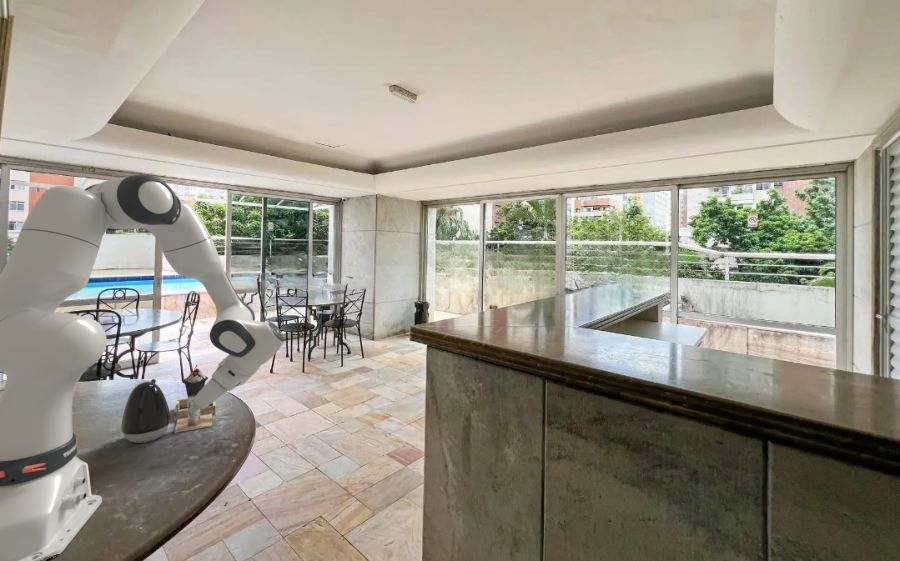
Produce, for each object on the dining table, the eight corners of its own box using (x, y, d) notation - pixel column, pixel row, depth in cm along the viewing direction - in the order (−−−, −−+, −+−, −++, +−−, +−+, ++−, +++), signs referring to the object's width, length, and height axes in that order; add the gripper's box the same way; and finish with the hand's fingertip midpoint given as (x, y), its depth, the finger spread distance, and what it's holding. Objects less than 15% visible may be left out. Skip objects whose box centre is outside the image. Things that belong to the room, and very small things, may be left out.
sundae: (196, 417, 115) (195, 368, 114) (177, 414, 116) (176, 365, 115) (213, 408, 122) (213, 361, 120) (195, 405, 123) (194, 359, 122)
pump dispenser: (177, 427, 109) (175, 374, 107) (162, 445, 99) (160, 387, 97) (133, 431, 105) (131, 377, 104) (113, 450, 96) (111, 390, 94)
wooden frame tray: (215, 425, 110) (214, 397, 109) (171, 433, 105) (170, 403, 104) (215, 402, 126) (214, 377, 125) (177, 407, 121) (176, 381, 120)
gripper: (239, 352, 120) (205, 383, 119) (212, 373, 100) (171, 411, 99) (255, 365, 121) (221, 397, 120) (231, 389, 101) (191, 427, 100)
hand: (198, 404), depth 109 cm, fingers open, 8 cm apart
